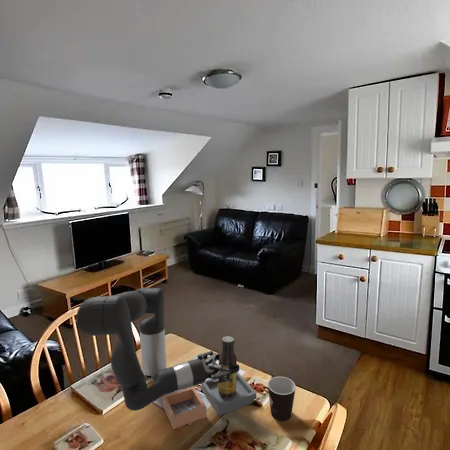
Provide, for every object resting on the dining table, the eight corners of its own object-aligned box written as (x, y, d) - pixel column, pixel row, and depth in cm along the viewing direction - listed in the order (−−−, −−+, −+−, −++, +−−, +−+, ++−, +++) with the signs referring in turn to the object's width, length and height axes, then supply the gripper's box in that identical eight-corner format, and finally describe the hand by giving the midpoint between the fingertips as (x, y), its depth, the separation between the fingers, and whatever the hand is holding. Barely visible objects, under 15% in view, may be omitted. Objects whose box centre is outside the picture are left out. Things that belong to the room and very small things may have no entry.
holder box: (162, 406, 107) (162, 396, 106) (193, 395, 111) (193, 386, 111) (172, 429, 97) (172, 419, 96) (206, 416, 102) (206, 406, 101)
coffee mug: (295, 425, 98) (295, 396, 96) (266, 421, 99) (266, 392, 98) (294, 399, 109) (295, 372, 107) (268, 396, 111) (269, 369, 109)
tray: (201, 389, 114) (201, 381, 114) (236, 378, 120) (236, 370, 120) (218, 416, 102) (218, 407, 101) (256, 401, 108) (256, 393, 108)
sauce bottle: (215, 395, 109) (214, 341, 106) (222, 384, 115) (221, 332, 112) (233, 400, 107) (232, 345, 104) (239, 388, 113) (239, 335, 109)
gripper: (195, 376, 96) (243, 361, 103) (180, 352, 108) (223, 340, 116) (196, 398, 97) (243, 382, 104) (181, 372, 110) (223, 360, 117)
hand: (232, 360), depth 110 cm, fingers open, 8 cm apart
